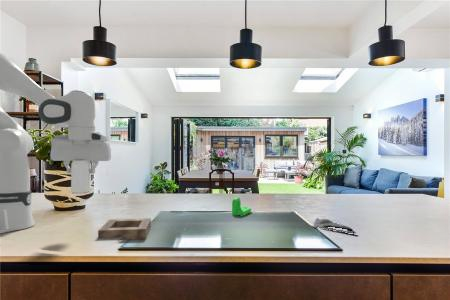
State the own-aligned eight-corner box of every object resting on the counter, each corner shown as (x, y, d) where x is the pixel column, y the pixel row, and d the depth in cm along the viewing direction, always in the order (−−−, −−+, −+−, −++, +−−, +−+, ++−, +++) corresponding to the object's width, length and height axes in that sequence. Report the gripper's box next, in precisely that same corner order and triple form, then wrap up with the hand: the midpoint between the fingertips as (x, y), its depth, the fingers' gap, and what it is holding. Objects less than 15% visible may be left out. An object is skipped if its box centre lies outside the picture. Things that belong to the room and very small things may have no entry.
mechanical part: (243, 216, 141) (243, 199, 141) (232, 214, 144) (232, 198, 144) (252, 211, 152) (252, 195, 152) (242, 210, 154) (242, 195, 154)
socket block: (98, 240, 101) (98, 230, 101) (109, 228, 117) (109, 219, 117) (146, 238, 104) (146, 228, 104) (150, 227, 119) (150, 218, 119)
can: (66, 193, 106) (67, 159, 105) (79, 190, 112) (79, 158, 112) (82, 194, 104) (82, 160, 104) (94, 191, 111) (94, 159, 110)
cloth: (304, 219, 135) (304, 215, 135) (333, 219, 136) (333, 214, 136) (327, 236, 110) (327, 230, 110) (363, 236, 110) (363, 230, 110)
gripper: (47, 134, 103) (46, 174, 103) (108, 135, 106) (107, 174, 106) (55, 135, 110) (54, 172, 110) (112, 136, 113) (111, 172, 112)
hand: (81, 173), depth 108 cm, fingers closed on can, 6 cm apart
